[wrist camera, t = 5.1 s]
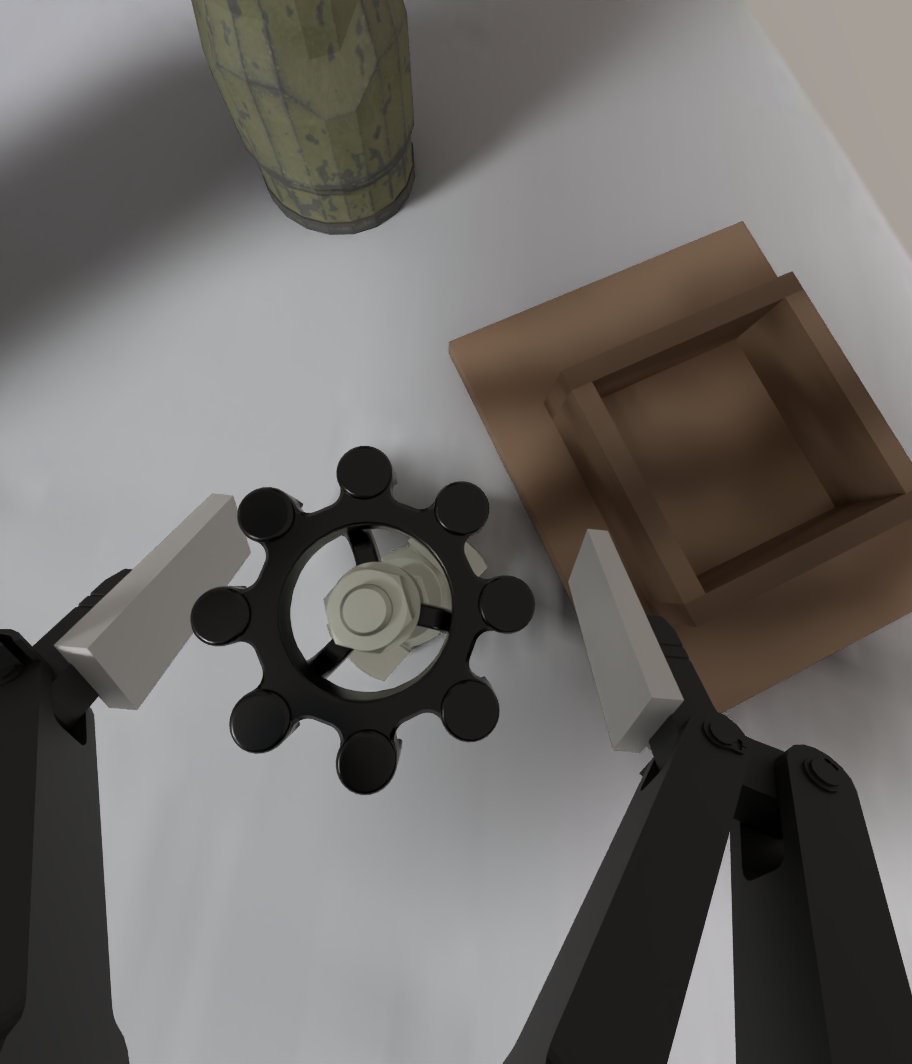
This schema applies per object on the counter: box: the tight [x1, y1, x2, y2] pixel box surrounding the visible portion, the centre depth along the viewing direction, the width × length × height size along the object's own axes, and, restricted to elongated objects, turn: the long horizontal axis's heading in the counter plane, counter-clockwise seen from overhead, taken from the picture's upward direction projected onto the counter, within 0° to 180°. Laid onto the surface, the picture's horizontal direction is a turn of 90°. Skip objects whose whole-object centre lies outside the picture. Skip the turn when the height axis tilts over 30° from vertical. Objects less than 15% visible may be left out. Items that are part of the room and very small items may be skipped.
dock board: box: [449, 221, 912, 750], centre depth 19 cm, size 22×18×4 cm
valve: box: [190, 446, 535, 795], centre depth 13 cm, size 7×7×12 cm
